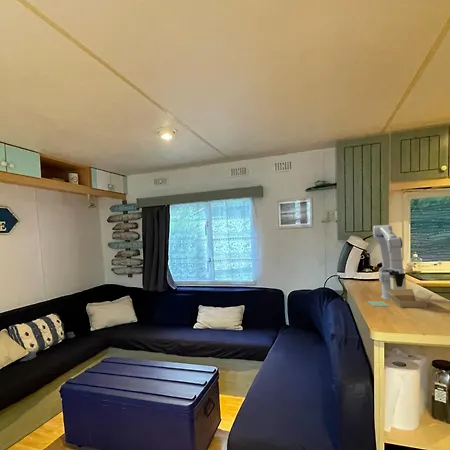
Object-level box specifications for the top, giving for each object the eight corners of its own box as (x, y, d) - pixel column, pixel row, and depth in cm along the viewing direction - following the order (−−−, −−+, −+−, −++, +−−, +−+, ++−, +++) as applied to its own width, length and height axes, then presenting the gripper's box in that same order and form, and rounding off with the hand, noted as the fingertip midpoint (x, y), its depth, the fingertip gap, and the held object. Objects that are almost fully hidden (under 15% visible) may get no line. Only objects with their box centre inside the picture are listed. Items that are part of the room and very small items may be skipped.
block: (390, 288, 160) (389, 275, 161) (403, 288, 159) (402, 275, 159) (393, 289, 156) (392, 276, 156) (406, 289, 155) (405, 276, 155)
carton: (383, 300, 168) (382, 289, 169) (418, 300, 164) (417, 288, 165) (394, 307, 151) (393, 295, 151) (433, 308, 147) (432, 294, 147)
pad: (367, 302, 166) (367, 301, 166) (382, 302, 164) (382, 301, 164) (372, 307, 154) (372, 305, 154) (389, 307, 153) (389, 306, 153)
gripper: (383, 259, 166) (385, 283, 166) (392, 261, 152) (394, 288, 151) (397, 259, 165) (399, 283, 164) (407, 260, 151) (409, 287, 150)
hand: (397, 285), depth 158 cm, fingers closed on block, 4 cm apart
